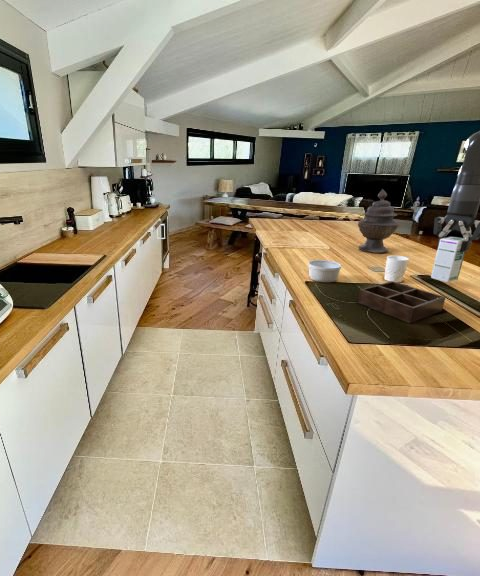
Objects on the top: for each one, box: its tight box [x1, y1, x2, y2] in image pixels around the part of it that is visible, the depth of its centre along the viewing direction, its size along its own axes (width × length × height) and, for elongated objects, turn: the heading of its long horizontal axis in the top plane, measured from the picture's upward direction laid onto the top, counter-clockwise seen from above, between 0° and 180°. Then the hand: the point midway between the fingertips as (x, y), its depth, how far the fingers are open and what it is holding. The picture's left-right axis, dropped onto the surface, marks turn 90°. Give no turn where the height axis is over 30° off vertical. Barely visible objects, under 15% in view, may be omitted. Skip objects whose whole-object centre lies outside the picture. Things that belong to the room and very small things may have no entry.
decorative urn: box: [357, 188, 400, 254], centre depth 178 cm, size 20×20×35 cm
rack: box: [357, 281, 447, 324], centre depth 109 cm, size 18×18×5 cm
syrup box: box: [430, 236, 466, 283], centre depth 108 cm, size 6×6×14 cm
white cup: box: [383, 254, 410, 283], centre depth 134 cm, size 8×8×10 cm
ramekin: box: [307, 259, 342, 283], centre depth 138 cm, size 13×13×7 cm
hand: (451, 249), depth 107 cm, fingers closed on syrup box, 6 cm apart
